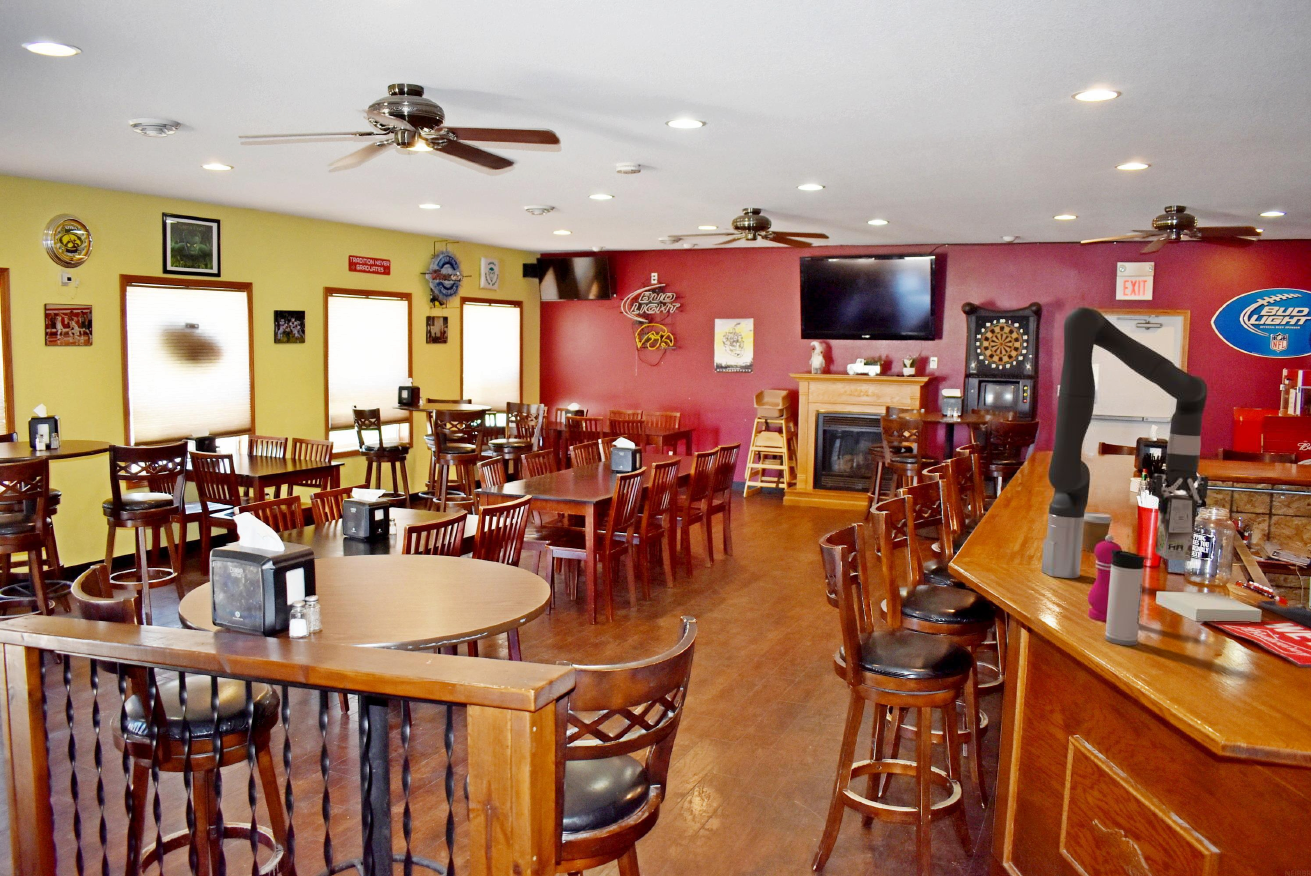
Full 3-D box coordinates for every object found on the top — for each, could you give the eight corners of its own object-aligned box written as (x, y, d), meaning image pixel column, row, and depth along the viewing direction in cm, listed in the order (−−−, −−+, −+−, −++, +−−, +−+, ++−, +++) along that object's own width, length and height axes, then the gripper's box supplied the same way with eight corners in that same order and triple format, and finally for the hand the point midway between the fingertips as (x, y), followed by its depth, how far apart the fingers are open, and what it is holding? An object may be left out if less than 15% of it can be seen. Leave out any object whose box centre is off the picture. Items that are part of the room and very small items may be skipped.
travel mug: (1097, 636, 203) (1104, 547, 201) (1126, 637, 204) (1133, 547, 202) (1114, 645, 197) (1121, 553, 195) (1143, 646, 198) (1151, 554, 196)
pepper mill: (1118, 624, 214) (1125, 539, 212) (1084, 618, 218) (1090, 535, 216) (1121, 617, 220) (1128, 534, 218) (1088, 612, 224) (1094, 530, 222)
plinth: (1195, 621, 219) (1196, 608, 219) (1155, 602, 235) (1156, 591, 235) (1260, 622, 220) (1261, 610, 219) (1216, 604, 236) (1217, 592, 235)
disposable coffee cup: (1111, 550, 301) (1114, 514, 300) (1107, 555, 293) (1110, 518, 292) (1079, 546, 306) (1082, 510, 305) (1075, 551, 298) (1077, 514, 297)
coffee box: (1192, 561, 239) (1198, 500, 238) (1165, 559, 241) (1171, 498, 239) (1179, 554, 248) (1186, 495, 247) (1153, 552, 250) (1159, 493, 248)
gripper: (1200, 451, 246) (1194, 512, 247) (1148, 449, 245) (1142, 510, 247) (1219, 454, 238) (1212, 517, 240) (1165, 452, 238) (1158, 515, 239)
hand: (1176, 514), depth 243 cm, fingers closed on coffee box, 7 cm apart
